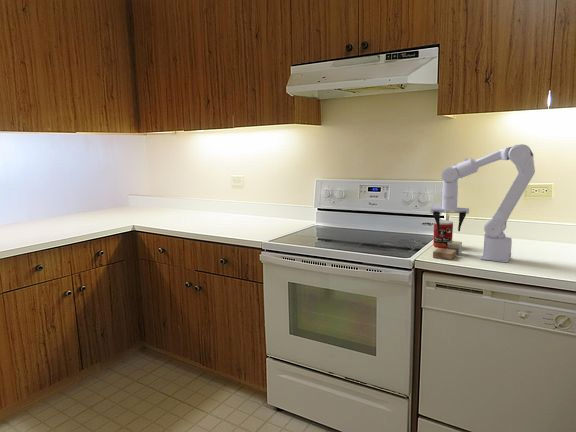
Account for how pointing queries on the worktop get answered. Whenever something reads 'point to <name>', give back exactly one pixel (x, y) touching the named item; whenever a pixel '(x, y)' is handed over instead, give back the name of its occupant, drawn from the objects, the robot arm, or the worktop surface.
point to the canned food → (443, 234)
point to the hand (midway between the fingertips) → (448, 230)
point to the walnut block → (444, 253)
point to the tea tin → (455, 246)
